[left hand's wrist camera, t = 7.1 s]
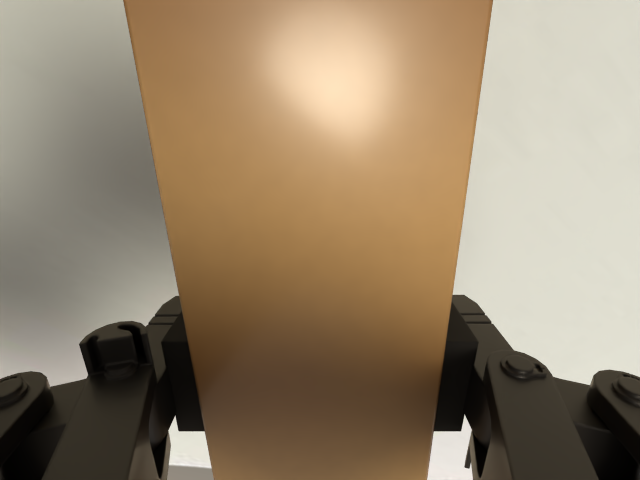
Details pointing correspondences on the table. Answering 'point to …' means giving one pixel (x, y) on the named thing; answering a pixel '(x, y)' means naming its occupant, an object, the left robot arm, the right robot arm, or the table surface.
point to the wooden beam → (313, 218)
